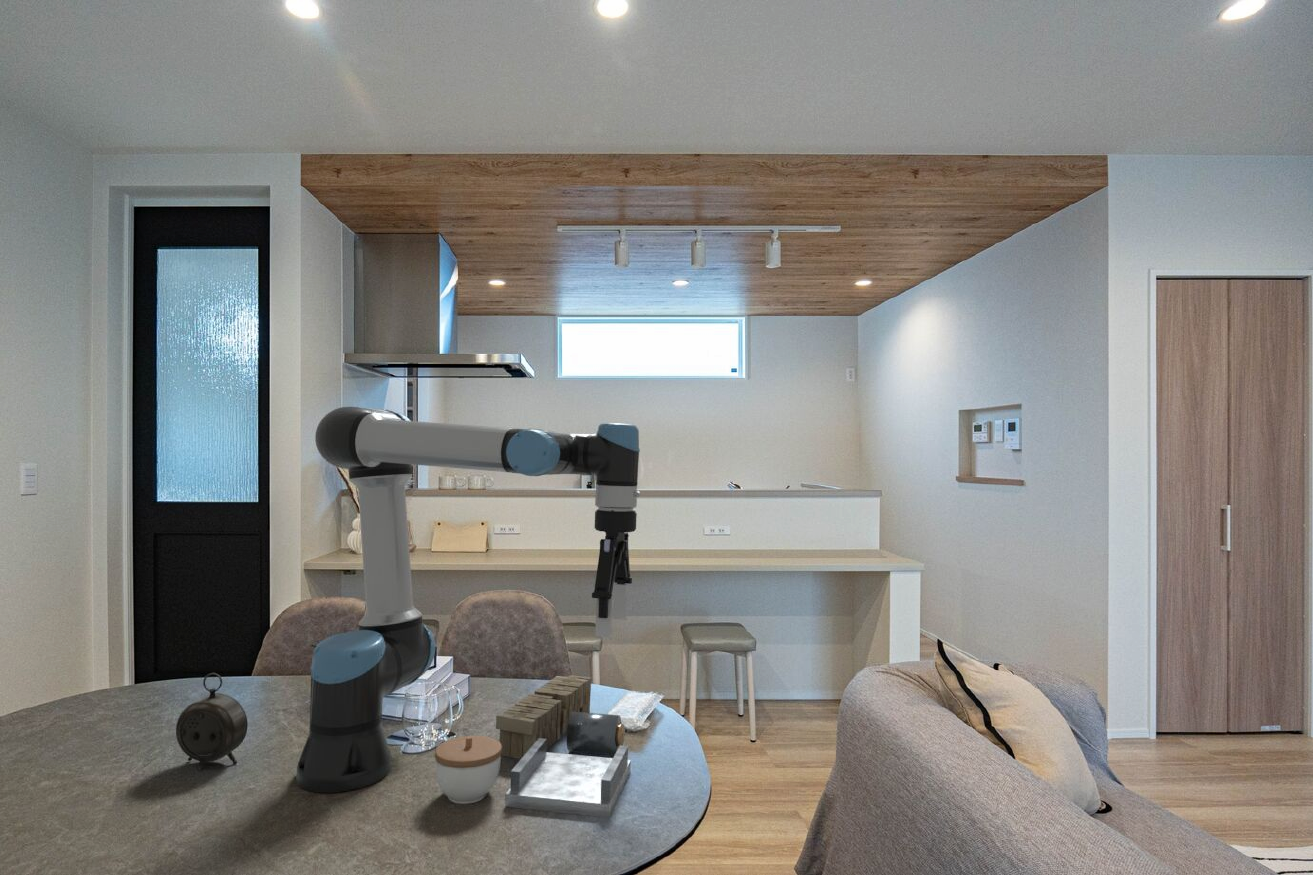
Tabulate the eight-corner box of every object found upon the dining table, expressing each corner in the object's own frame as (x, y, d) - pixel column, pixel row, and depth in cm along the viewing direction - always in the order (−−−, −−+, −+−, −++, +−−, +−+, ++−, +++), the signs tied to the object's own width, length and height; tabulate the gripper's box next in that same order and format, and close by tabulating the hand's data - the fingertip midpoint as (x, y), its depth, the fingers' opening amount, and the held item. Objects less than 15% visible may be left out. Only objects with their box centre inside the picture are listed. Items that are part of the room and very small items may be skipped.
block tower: (558, 711, 161) (492, 758, 133) (559, 673, 162) (494, 712, 134) (591, 716, 159) (531, 764, 131) (592, 677, 160) (532, 717, 132)
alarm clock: (247, 760, 130) (251, 669, 130) (227, 773, 124) (231, 679, 125) (190, 757, 131) (194, 667, 131) (168, 770, 125) (172, 676, 126)
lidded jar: (483, 814, 112) (485, 753, 113) (420, 806, 114) (422, 746, 115) (510, 784, 123) (512, 728, 123) (452, 777, 125) (454, 722, 125)
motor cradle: (505, 806, 115) (506, 762, 115) (556, 740, 142) (557, 704, 142) (608, 817, 112) (610, 772, 112) (641, 748, 139) (641, 711, 140)
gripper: (623, 515, 117) (618, 646, 117) (647, 505, 142) (643, 613, 141) (578, 513, 118) (573, 643, 118) (610, 503, 143) (605, 611, 142)
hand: (611, 627), depth 129 cm, fingers open, 13 cm apart
